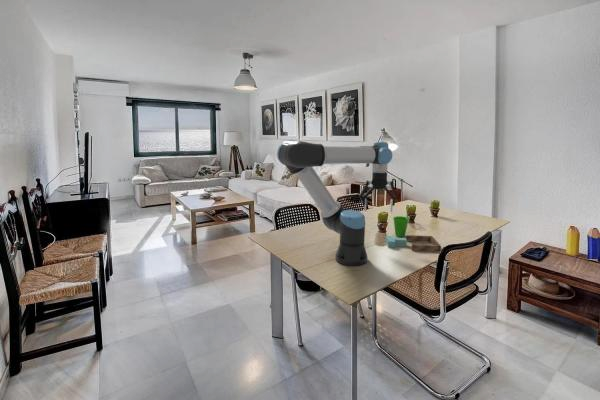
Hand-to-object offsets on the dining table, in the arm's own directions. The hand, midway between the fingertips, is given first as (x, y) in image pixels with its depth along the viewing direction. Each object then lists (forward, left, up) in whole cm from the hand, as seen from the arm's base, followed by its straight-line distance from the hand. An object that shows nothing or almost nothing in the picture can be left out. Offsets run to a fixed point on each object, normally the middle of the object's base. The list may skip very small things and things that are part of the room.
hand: (378, 211), depth 175 cm
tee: (+11, 0, -19) cm, 21 cm away
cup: (+15, +16, -19) cm, 29 cm away
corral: (+24, 0, -19) cm, 30 cm away
